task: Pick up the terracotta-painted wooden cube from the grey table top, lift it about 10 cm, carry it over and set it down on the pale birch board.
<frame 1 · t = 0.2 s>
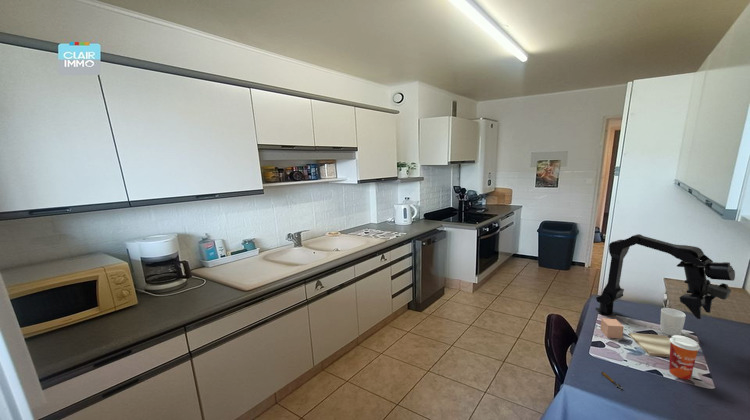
hand: (703, 315, 120), 15 cm above the table, tool pointing down, fingers open, 9 cm apart
birch board: (657, 346, 126), on the table
white cup: (670, 332, 135), on the table
paper cup: (679, 374, 110), on the table
terracotta cube: (611, 334, 136), on the table
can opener: (611, 382, 109), on the table
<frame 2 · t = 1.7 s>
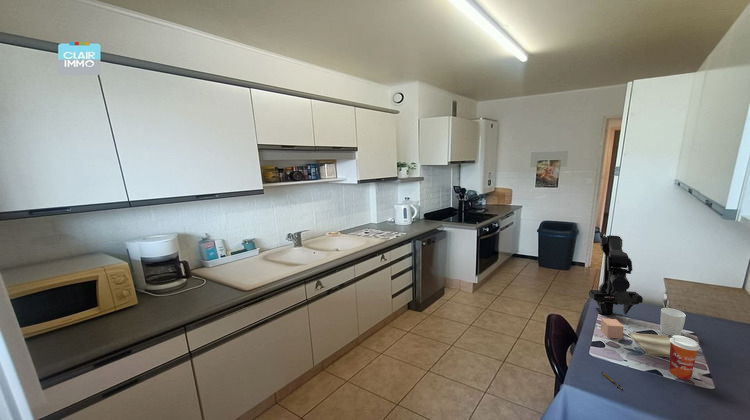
hand: (613, 313, 134), 10 cm above the table, tool pointing down, fingers open, 9 cm apart
nothing on the table moved.
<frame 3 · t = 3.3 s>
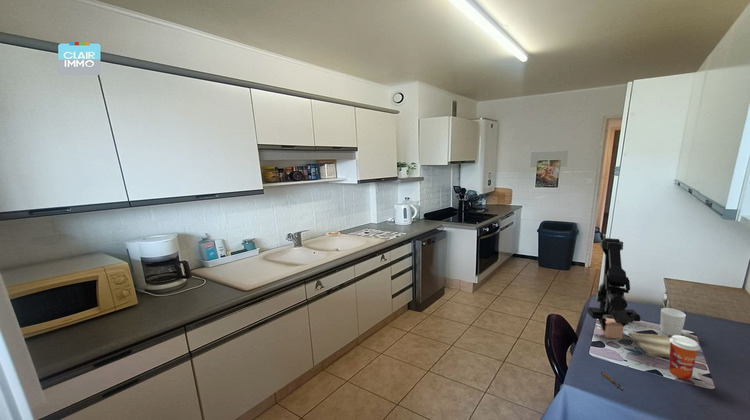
hand: (611, 330, 135), 2 cm above the table, tool pointing down, fingers closed on terracotta cube, 6 cm apart
terracotta cube: (611, 333, 136), on the table, touching gripper
everything else where it was.
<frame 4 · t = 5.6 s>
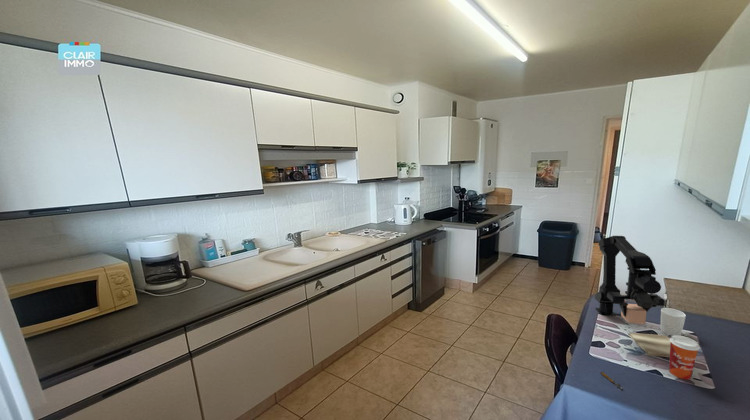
hand: (633, 316, 129), 11 cm above the table, tool pointing down, fingers closed on terracotta cube, 6 cm apart
terracotta cube: (632, 319, 129), point 10 cm above the table, touching gripper
everything else where it was.
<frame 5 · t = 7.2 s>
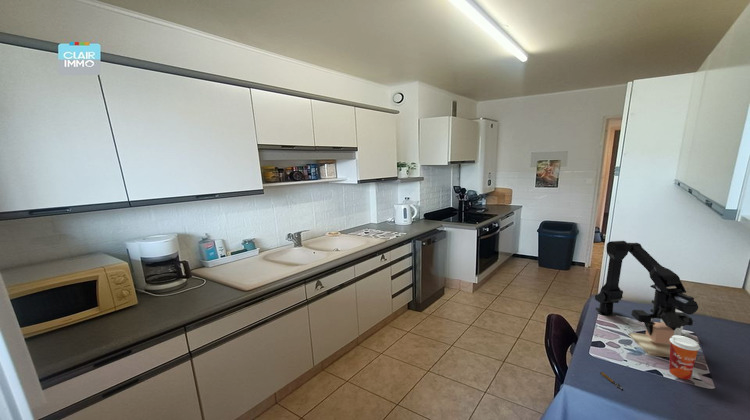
hand: (658, 335, 125), 5 cm above the table, tool pointing down, fingers closed on terracotta cube, 6 cm apart
terracotta cube: (658, 338, 125), point 4 cm above the table, touching gripper
everything else where it was.
when the fingers open (4 cm above the table, at t = 8.2 s): terracotta cube drops 2 cm, resting on birch board.
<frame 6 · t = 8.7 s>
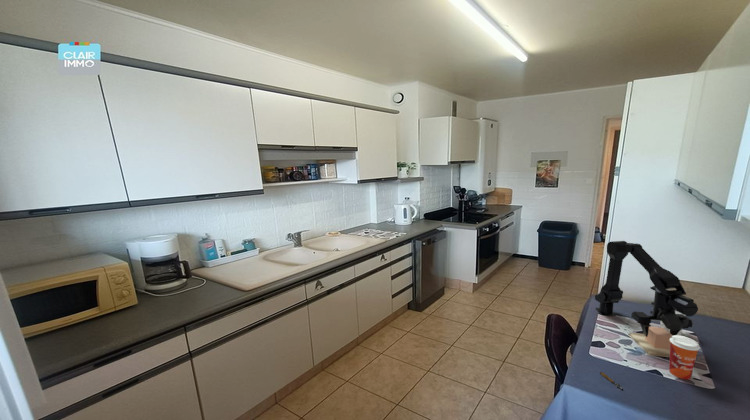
hand: (658, 337, 125), 4 cm above the table, tool pointing down, fingers open, 9 cm apart
terracotta cube: (657, 343, 126), point 1 cm above the table, touching birch board
everything else where it was.
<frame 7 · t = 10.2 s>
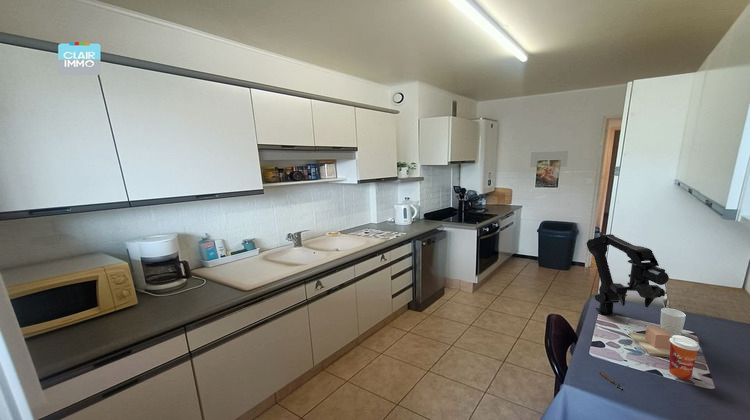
hand: (634, 306, 136), 12 cm above the table, tool pointing down, fingers open, 9 cm apart
nothing on the table moved.
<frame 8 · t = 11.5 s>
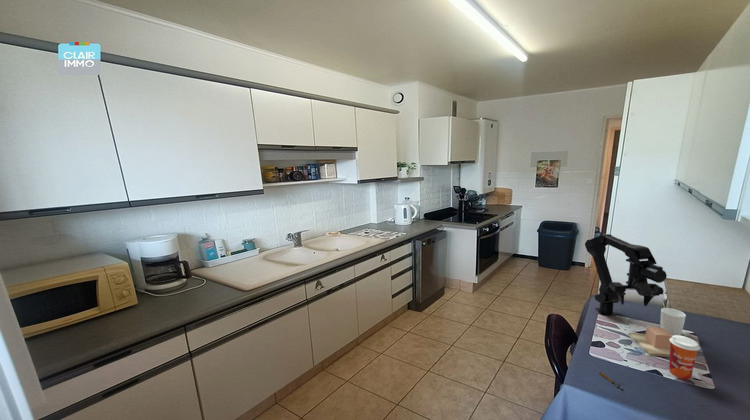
hand: (633, 305, 137), 12 cm above the table, tool pointing down, fingers open, 9 cm apart
nothing on the table moved.
at the end: terracotta cube inside the target area on the birch board (0.1 cm from its centre), point 1.2 cm above the birch board's base; terracotta cube touching birch board; the gripper is holding nothing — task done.
